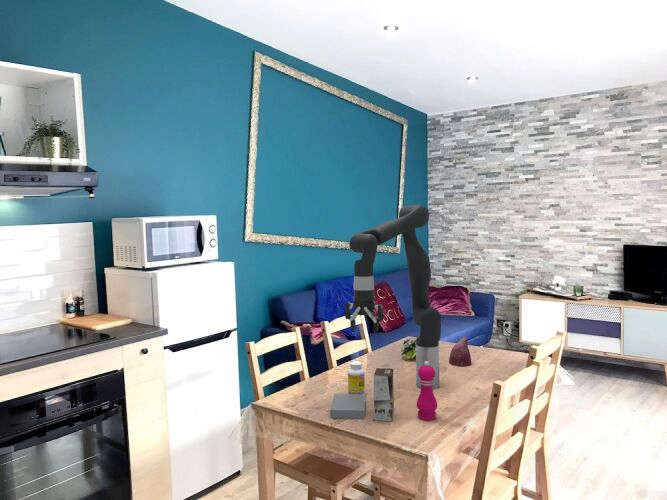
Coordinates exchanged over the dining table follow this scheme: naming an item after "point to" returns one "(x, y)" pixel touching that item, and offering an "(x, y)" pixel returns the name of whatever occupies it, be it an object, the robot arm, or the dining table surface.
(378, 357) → the dining table surface
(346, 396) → the block
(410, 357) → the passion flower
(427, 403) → the pepper mill
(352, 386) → the supplement bottle
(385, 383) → the coffee box
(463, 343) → the vegetable
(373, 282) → the robot arm
